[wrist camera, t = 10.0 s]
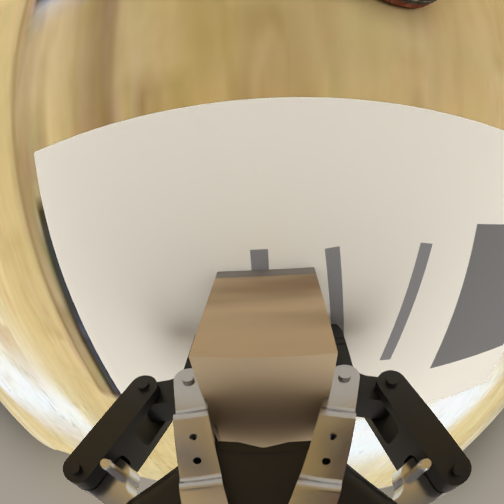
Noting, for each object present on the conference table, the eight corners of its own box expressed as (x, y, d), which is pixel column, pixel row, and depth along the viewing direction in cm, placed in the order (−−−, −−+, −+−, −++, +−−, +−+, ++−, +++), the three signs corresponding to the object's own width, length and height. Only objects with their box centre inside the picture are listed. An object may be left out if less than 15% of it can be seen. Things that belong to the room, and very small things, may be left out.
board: (50, 148, 12) (33, 152, 11) (544, 150, 9) (557, 154, 8) (139, 401, 21) (134, 413, 20) (479, 373, 18) (484, 382, 17)
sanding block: (217, 271, 13) (188, 356, 8) (314, 267, 12) (338, 352, 7) (234, 371, 16) (223, 448, 11) (308, 368, 15) (316, 447, 10)
